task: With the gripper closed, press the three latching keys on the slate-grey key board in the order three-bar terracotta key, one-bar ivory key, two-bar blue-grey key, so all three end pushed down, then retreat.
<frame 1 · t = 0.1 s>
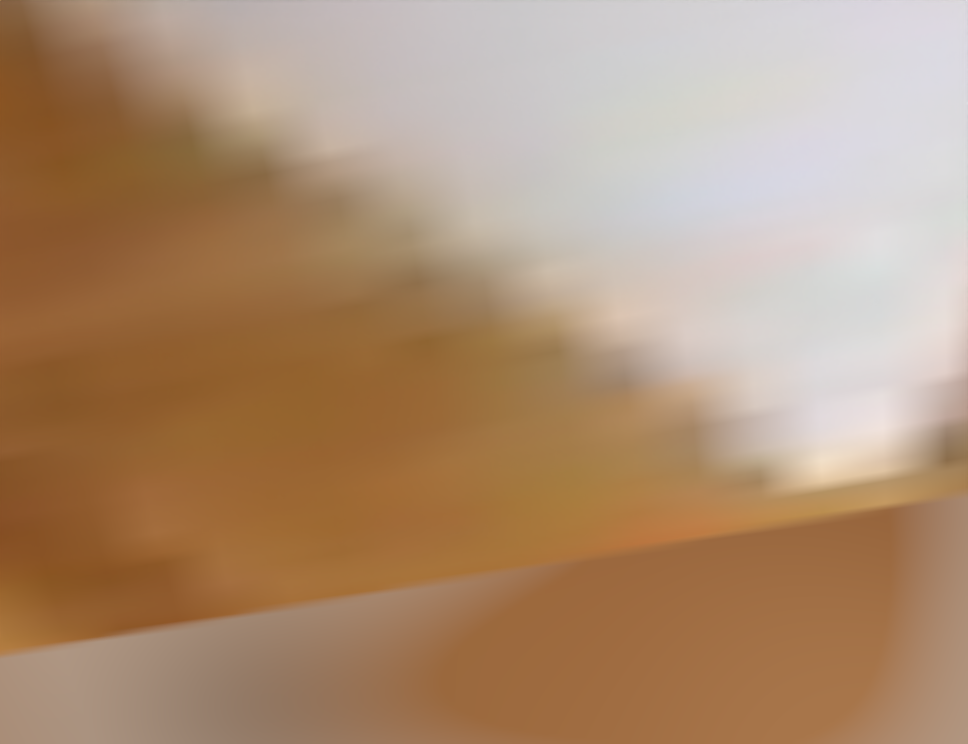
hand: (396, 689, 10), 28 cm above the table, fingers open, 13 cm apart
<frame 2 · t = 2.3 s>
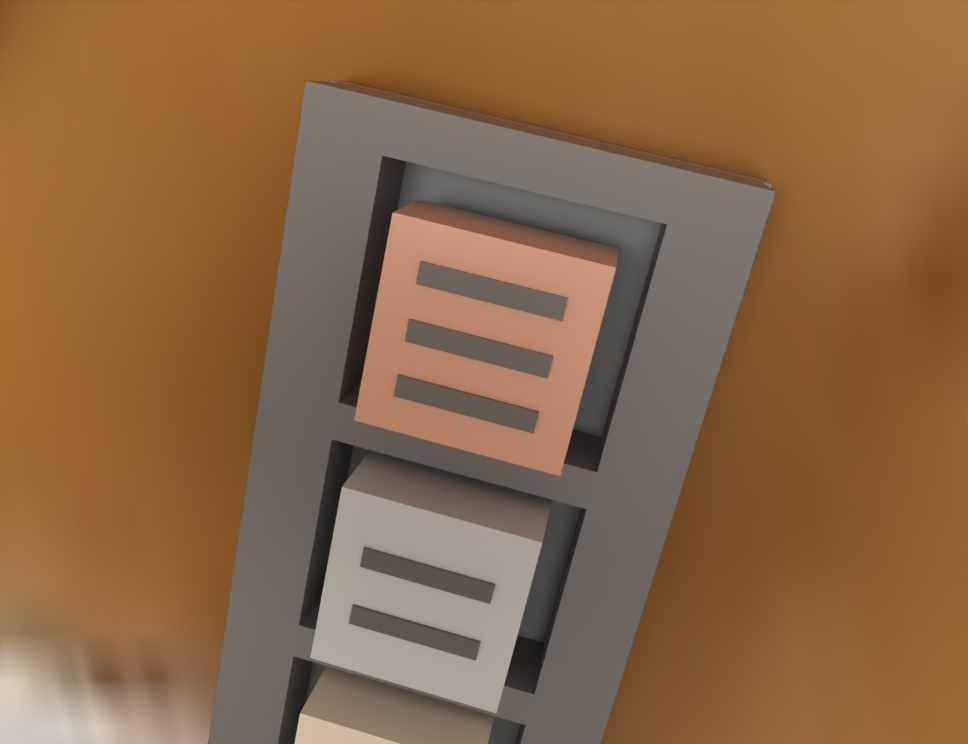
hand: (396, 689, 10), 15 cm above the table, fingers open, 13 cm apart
key 3: (487, 334, 21), point 4 cm above the table, slide at 0.0 cm
key board: (462, 509, 27), on the table
key 2: (432, 577, 23), point 4 cm above the table, slide at 0.0 cm
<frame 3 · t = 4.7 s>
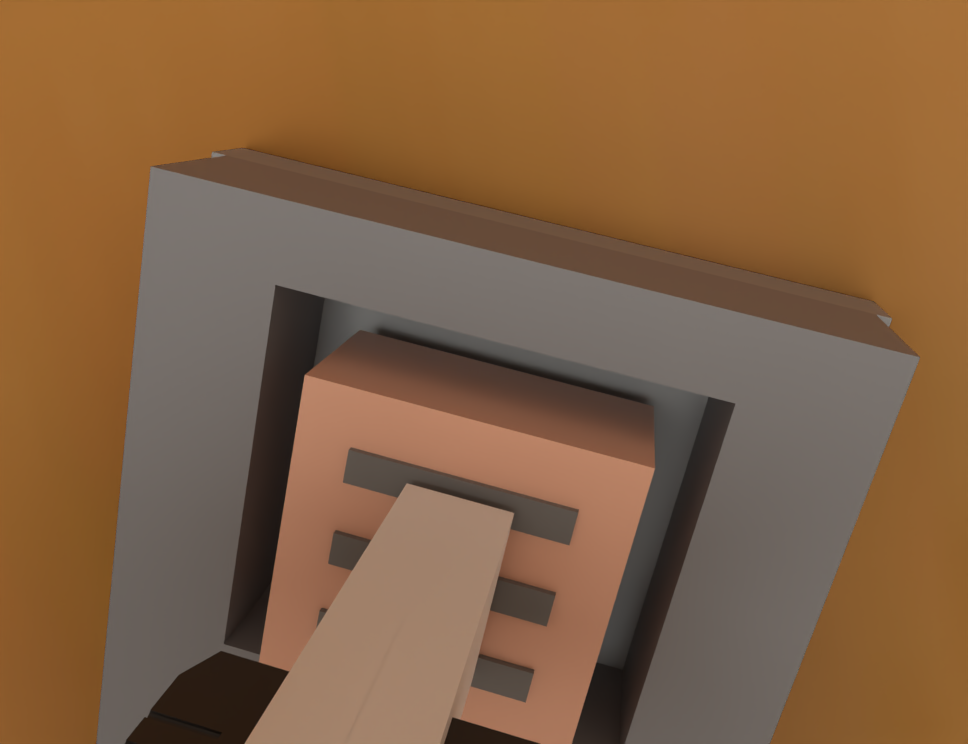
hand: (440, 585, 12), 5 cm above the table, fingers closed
key 3: (457, 536, 14), point 3 cm above the table, slide at 0.9 cm, touching gripper
key board: (424, 739, 19), on the table
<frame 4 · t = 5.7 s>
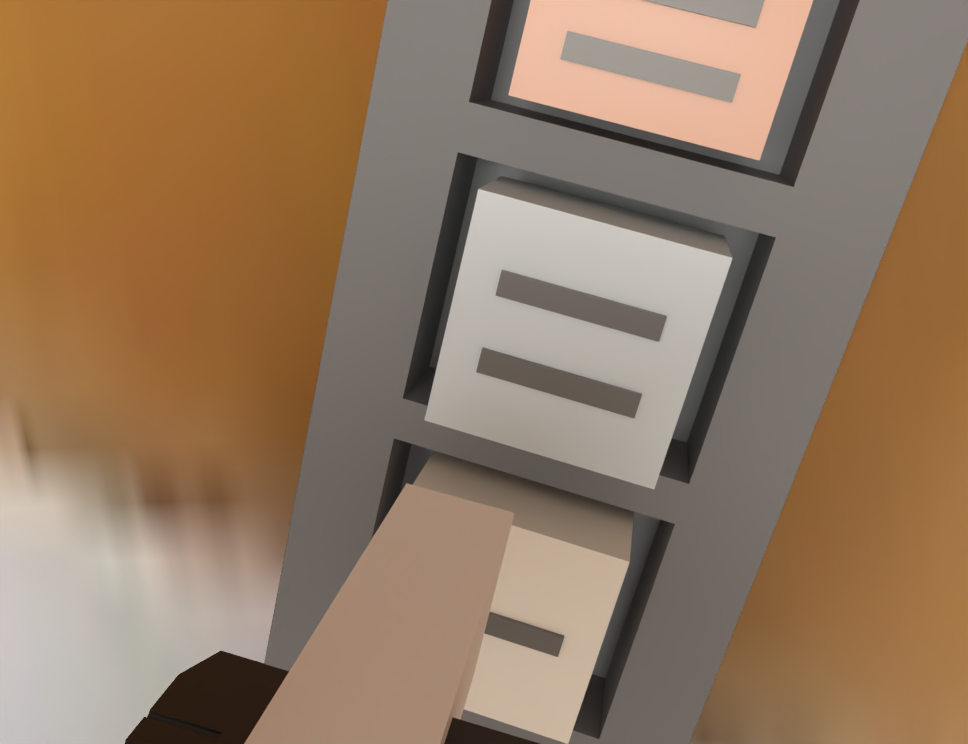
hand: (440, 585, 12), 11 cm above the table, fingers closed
key 1: (499, 592, 21), point 4 cm above the table, slide at 0.0 cm
key board: (590, 286, 22), on the table
key 2: (575, 328, 19), point 4 cm above the table, slide at 0.0 cm
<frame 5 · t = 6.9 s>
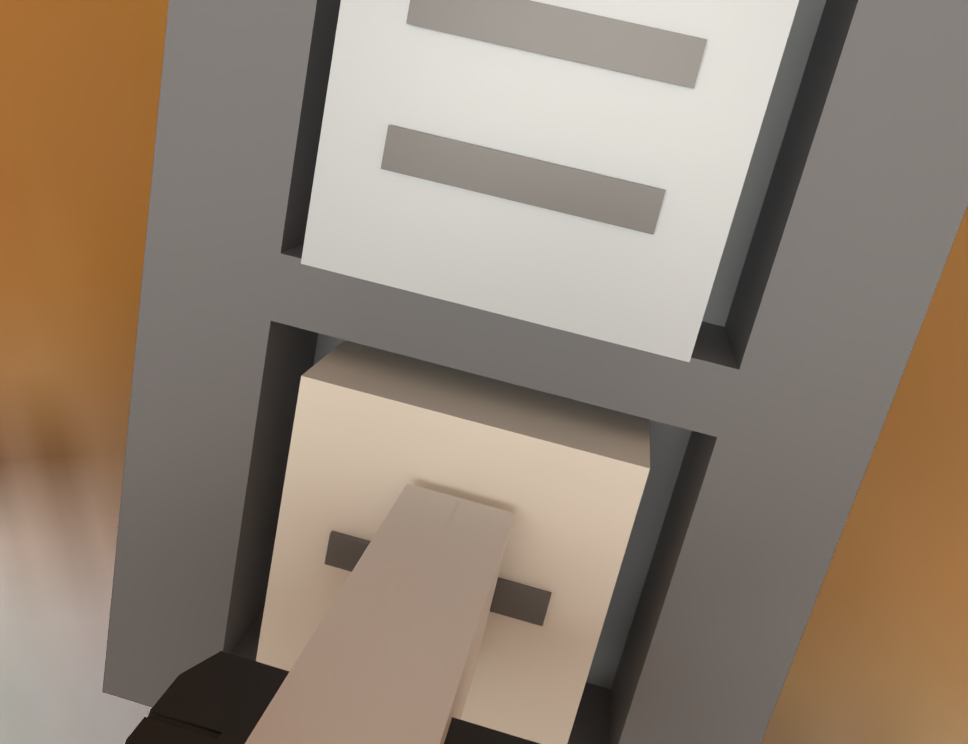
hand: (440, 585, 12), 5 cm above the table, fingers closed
key 1: (454, 537, 14), point 3 cm above the table, slide at 0.7 cm, touching gripper
key board: (572, 103, 15), on the table
key 2: (547, 106, 11), point 4 cm above the table, slide at 0.0 cm
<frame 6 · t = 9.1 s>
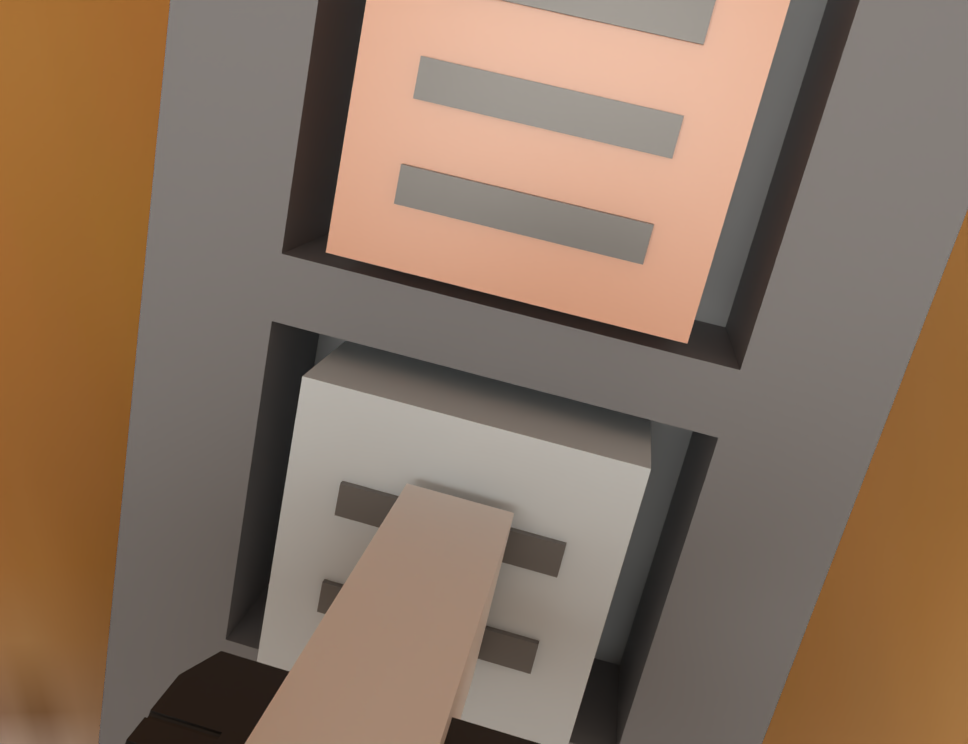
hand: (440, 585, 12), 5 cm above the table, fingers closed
key 3: (555, 105, 12), point 3 cm above the table, slide at 0.9 cm
key board: (489, 457, 17), on the table
key 2: (455, 537, 14), point 3 cm above the table, slide at 0.7 cm, touching gripper
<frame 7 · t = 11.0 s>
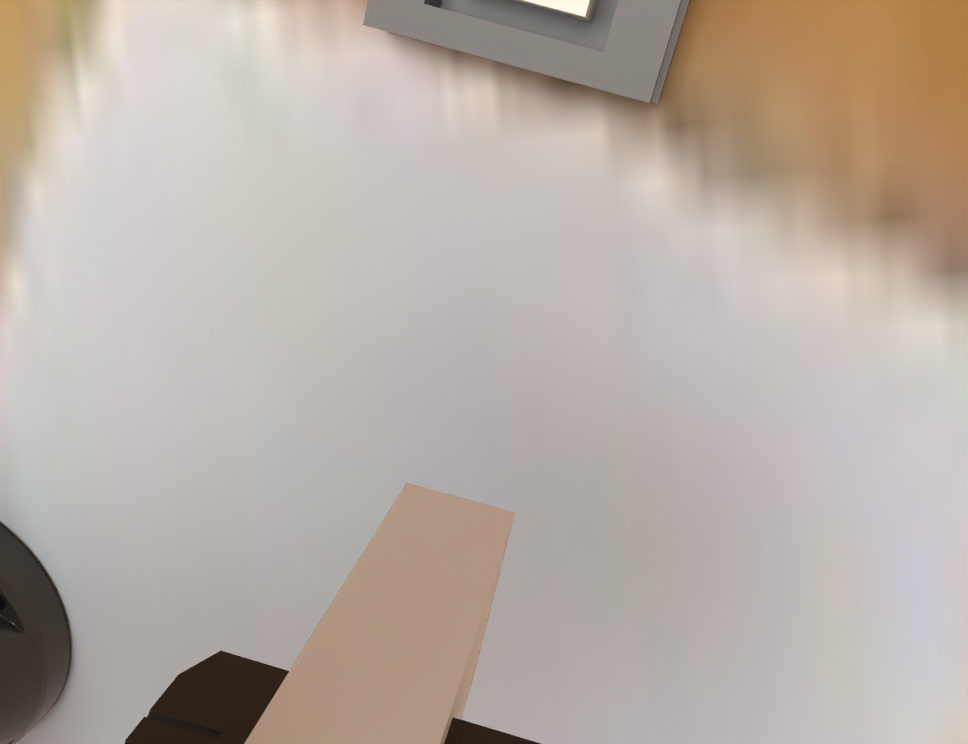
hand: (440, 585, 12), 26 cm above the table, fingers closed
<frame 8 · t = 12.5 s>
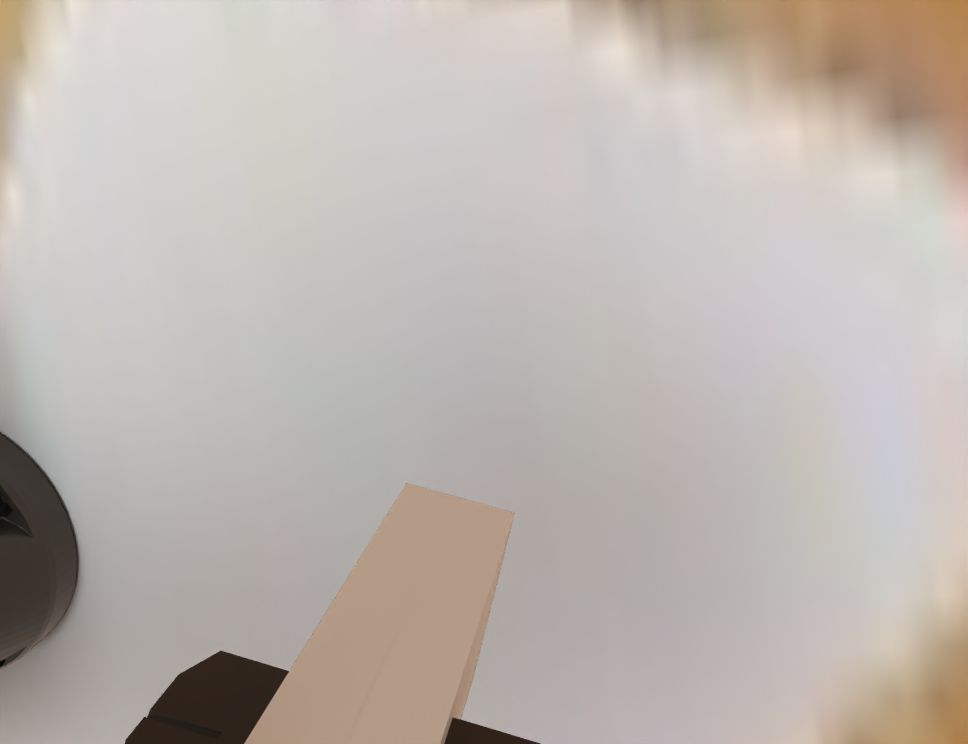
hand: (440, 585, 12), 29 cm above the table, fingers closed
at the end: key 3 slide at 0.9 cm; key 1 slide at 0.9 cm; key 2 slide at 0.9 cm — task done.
